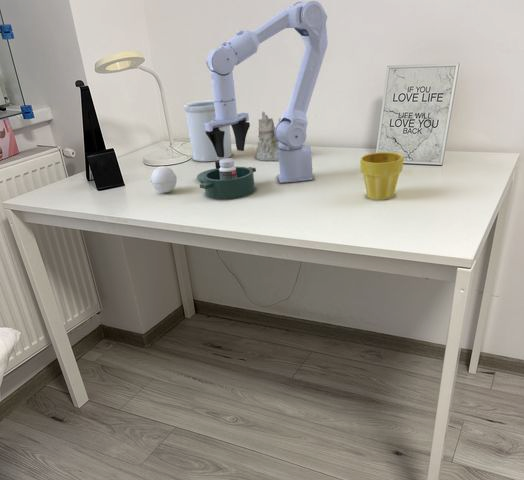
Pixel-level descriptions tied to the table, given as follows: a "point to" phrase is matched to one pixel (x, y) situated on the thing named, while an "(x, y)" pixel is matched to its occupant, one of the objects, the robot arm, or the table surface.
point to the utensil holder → (199, 140)
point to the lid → (200, 175)
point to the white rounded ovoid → (163, 179)
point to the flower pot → (381, 173)
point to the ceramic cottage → (267, 140)
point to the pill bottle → (227, 169)
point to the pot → (229, 184)
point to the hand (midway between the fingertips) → (230, 153)
